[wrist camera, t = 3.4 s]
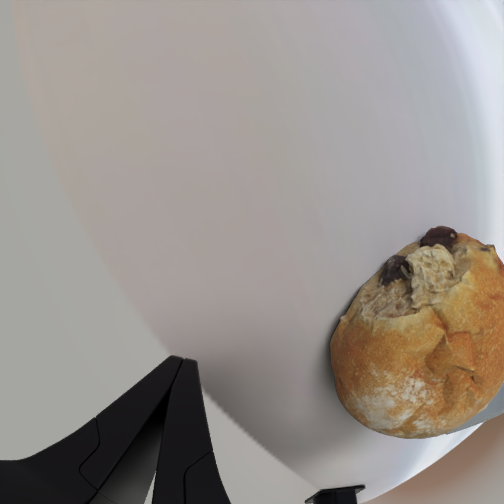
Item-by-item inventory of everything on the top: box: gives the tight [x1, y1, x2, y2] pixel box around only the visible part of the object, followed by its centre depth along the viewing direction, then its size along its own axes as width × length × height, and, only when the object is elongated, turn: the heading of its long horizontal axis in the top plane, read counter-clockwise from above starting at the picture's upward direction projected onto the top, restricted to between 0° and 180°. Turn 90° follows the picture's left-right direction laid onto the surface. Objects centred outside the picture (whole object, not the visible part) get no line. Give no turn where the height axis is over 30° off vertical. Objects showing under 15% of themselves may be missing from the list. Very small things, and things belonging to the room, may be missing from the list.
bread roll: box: [330, 226, 504, 439], centre depth 10 cm, size 10×10×8 cm
